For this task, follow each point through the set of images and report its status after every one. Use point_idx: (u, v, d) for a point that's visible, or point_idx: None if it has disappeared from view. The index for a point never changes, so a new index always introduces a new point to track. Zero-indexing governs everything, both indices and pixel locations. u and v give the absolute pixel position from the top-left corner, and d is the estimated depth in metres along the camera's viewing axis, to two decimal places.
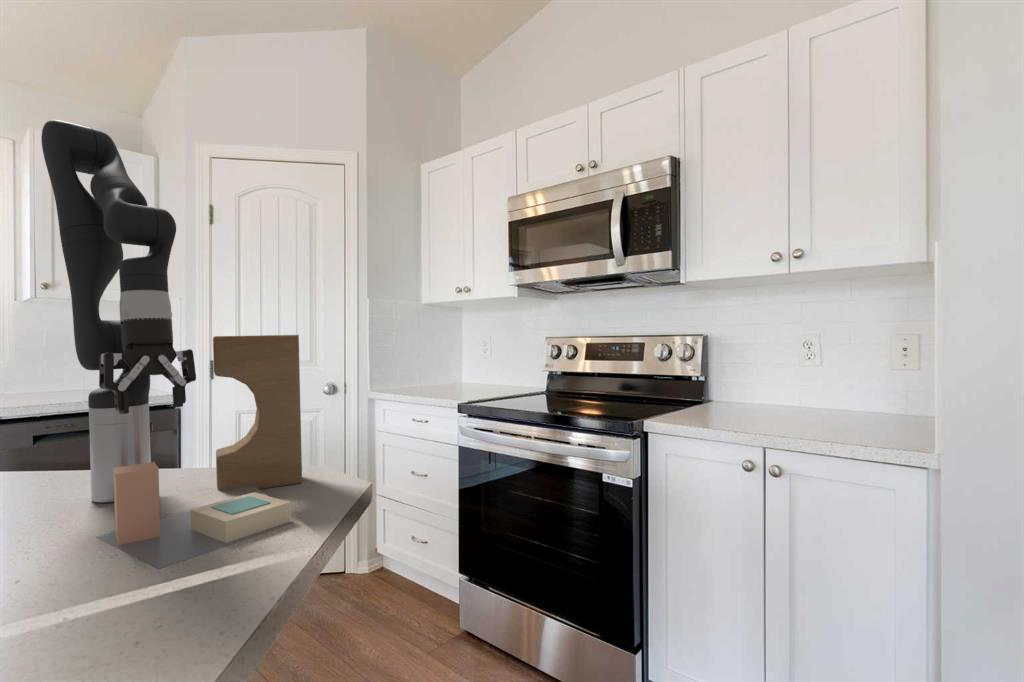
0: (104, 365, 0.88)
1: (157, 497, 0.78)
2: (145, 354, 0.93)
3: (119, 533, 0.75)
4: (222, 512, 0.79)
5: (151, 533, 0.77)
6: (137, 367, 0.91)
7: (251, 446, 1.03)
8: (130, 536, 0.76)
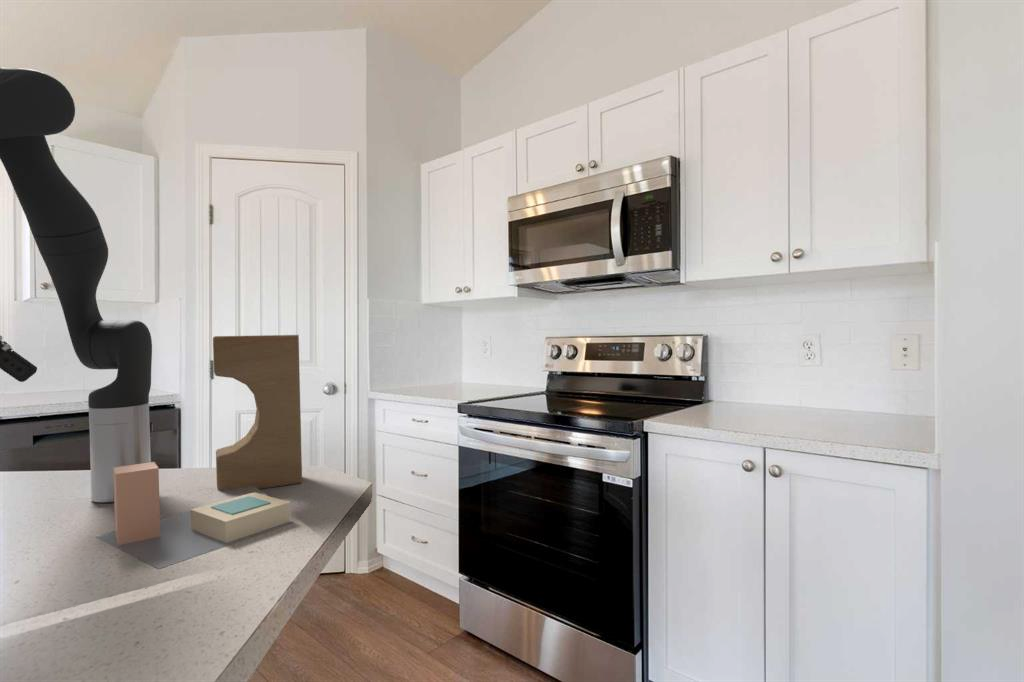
0: None
1: (157, 497, 0.78)
2: None
3: (119, 533, 0.75)
4: (222, 512, 0.79)
5: (151, 533, 0.77)
6: None
7: (251, 446, 1.03)
8: (130, 536, 0.76)
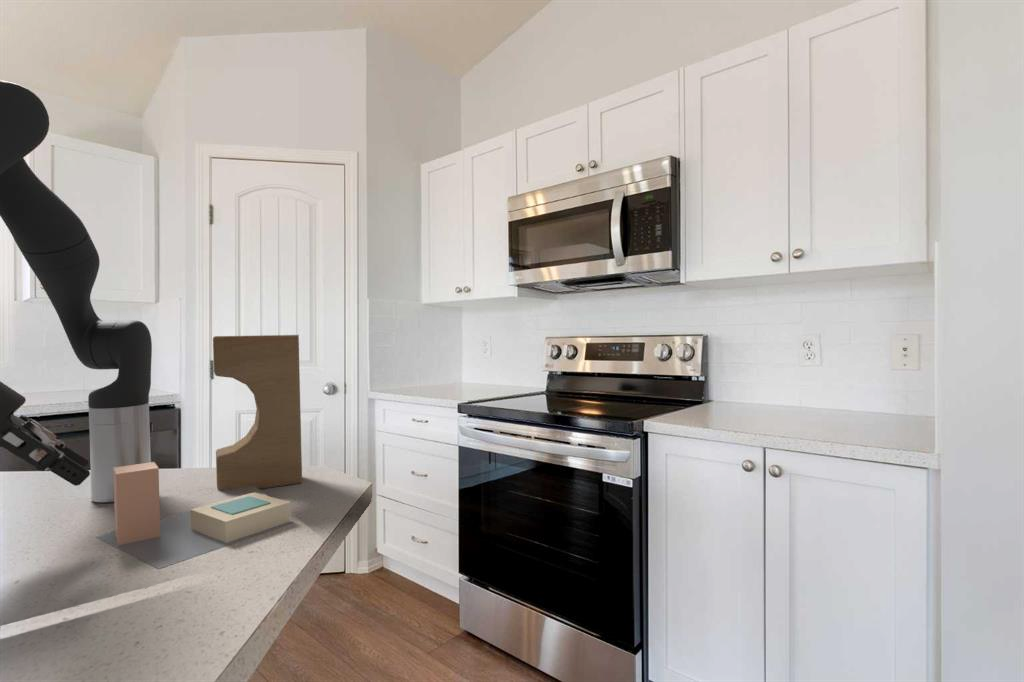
0: None
1: (157, 497, 0.78)
2: None
3: (119, 533, 0.75)
4: (222, 512, 0.79)
5: (151, 533, 0.77)
6: None
7: (251, 446, 1.03)
8: (130, 536, 0.76)
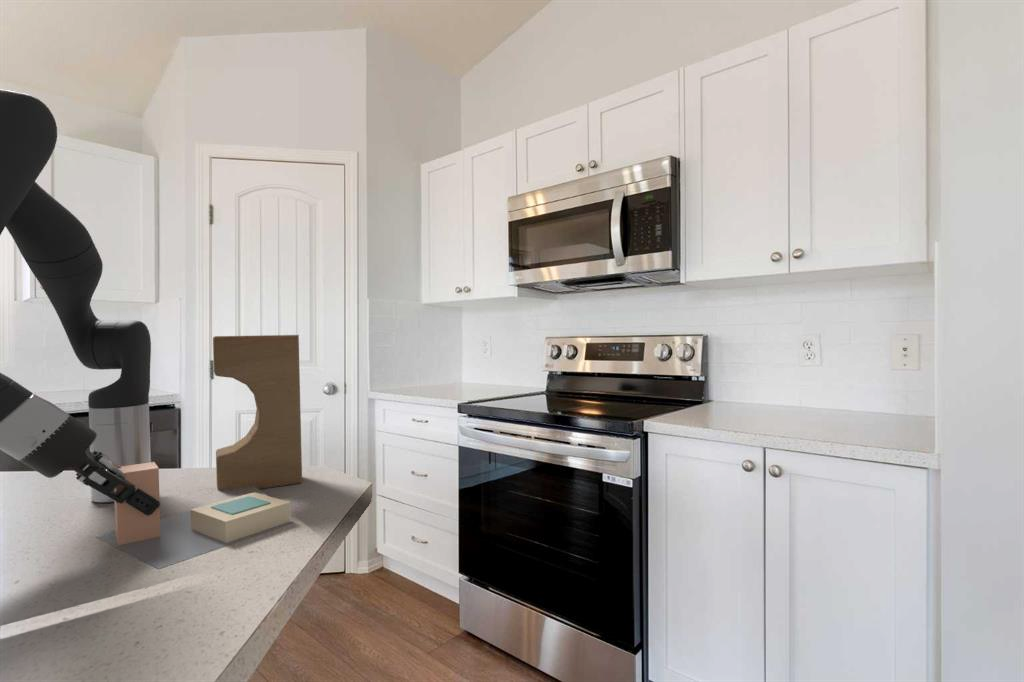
0: None
1: (157, 497, 0.78)
2: None
3: (119, 533, 0.75)
4: (222, 512, 0.79)
5: (151, 533, 0.77)
6: None
7: (251, 446, 1.03)
8: (130, 536, 0.76)
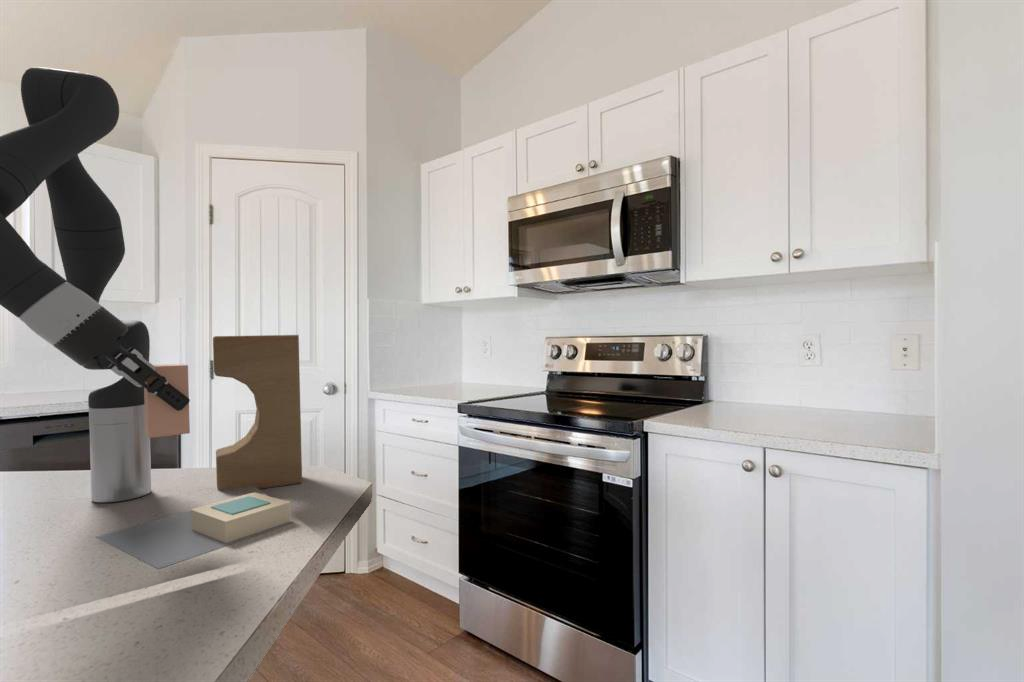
0: None
1: (186, 394, 0.78)
2: (111, 361, 0.76)
3: (150, 426, 0.76)
4: (222, 512, 0.79)
5: (181, 429, 0.78)
6: None
7: (251, 446, 1.03)
8: (160, 430, 0.76)
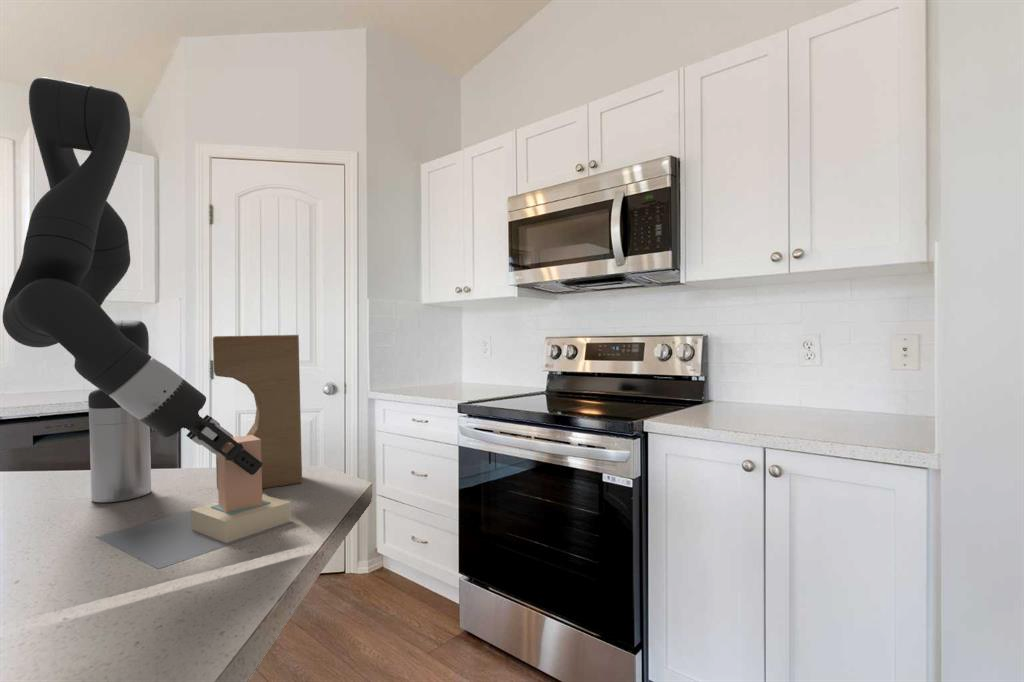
0: None
1: None
2: (189, 430, 0.78)
3: (227, 501, 0.79)
4: (222, 512, 0.79)
5: (254, 502, 0.81)
6: None
7: None
8: (236, 504, 0.79)
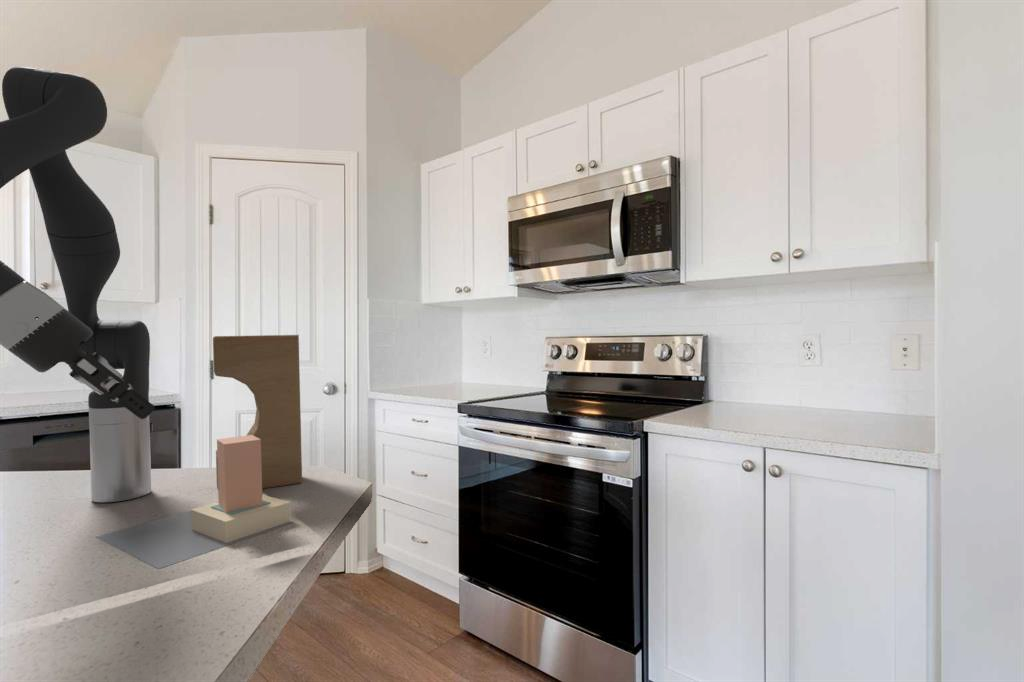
0: None
1: (259, 467, 0.81)
2: None
3: (227, 501, 0.79)
4: (222, 512, 0.79)
5: (254, 502, 0.81)
6: None
7: None
8: (236, 504, 0.79)
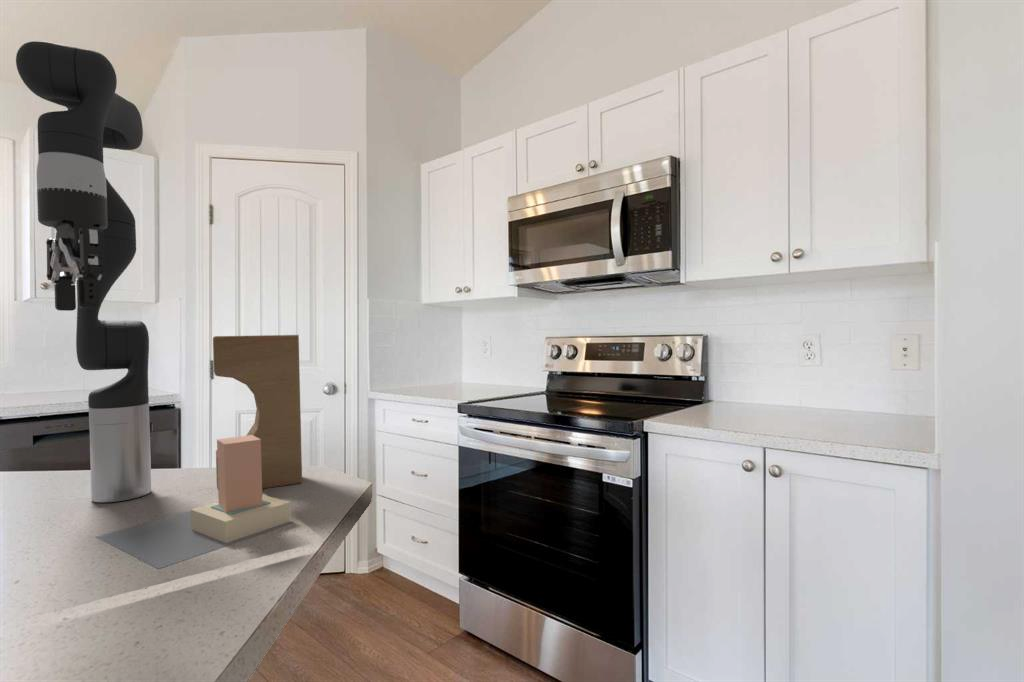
0: None
1: (259, 467, 0.81)
2: None
3: (227, 501, 0.79)
4: (222, 512, 0.79)
5: (254, 502, 0.81)
6: (53, 255, 0.75)
7: None
8: (236, 504, 0.79)
